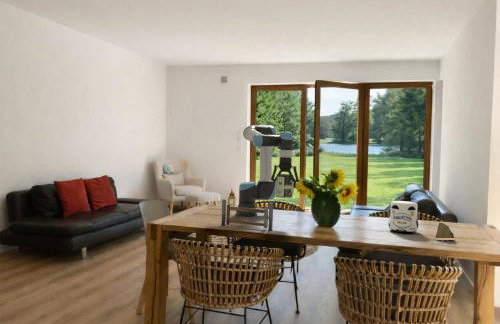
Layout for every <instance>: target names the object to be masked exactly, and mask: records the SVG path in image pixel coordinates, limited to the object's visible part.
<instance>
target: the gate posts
mask: <svg viewBox="0 0 500 324" xmlns="http://www.w3.org/2000/svg"><path fill="white" fill-rule="evenodd" d="M268 204H269V205H268V228H267V230H268V231H273V225H274V224H273V221H274V203H272V202H270V203H268ZM226 218H227V200H226V199H221V226H222V227H226Z"/></svg>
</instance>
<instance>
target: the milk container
mask: <svg viewBox="0 0 500 324" xmlns="http://www.w3.org/2000/svg"><path fill="white" fill-rule="evenodd" d="M418 208H419V207H418V203H417V202H414V201H413V202H412V201H407V200H406V201H405V200H392V201H391V203H390V213H389V215H390V216H389V219H388V222H387V223H388V228H389V229H390V231H393V232H396V231H398V232H397V233H401V232H413V233H416V232H417V231H418V230H419V221H418Z"/></svg>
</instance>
